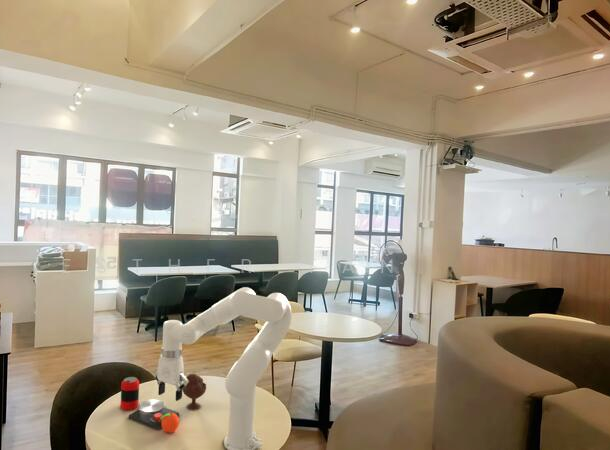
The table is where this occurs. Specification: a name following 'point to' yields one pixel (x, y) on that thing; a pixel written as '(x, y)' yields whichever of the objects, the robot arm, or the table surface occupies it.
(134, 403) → the soda can
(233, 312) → the robot arm
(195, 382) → the ice cream bowl
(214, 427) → the table surface
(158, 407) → the pan
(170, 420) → the clementine
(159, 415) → the button
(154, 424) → the scale
